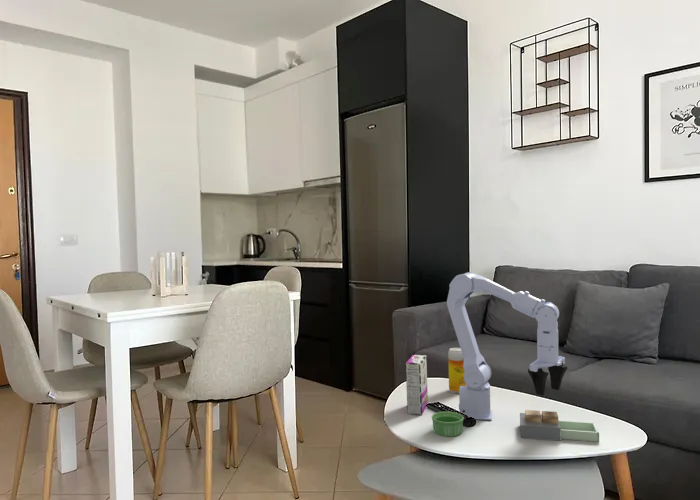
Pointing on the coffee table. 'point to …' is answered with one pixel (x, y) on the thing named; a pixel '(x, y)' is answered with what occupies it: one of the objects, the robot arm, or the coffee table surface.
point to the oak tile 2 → (549, 417)
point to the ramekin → (447, 423)
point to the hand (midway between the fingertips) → (547, 391)
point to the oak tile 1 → (532, 416)
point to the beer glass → (456, 369)
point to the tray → (579, 431)
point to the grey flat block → (539, 429)
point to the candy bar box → (416, 384)
